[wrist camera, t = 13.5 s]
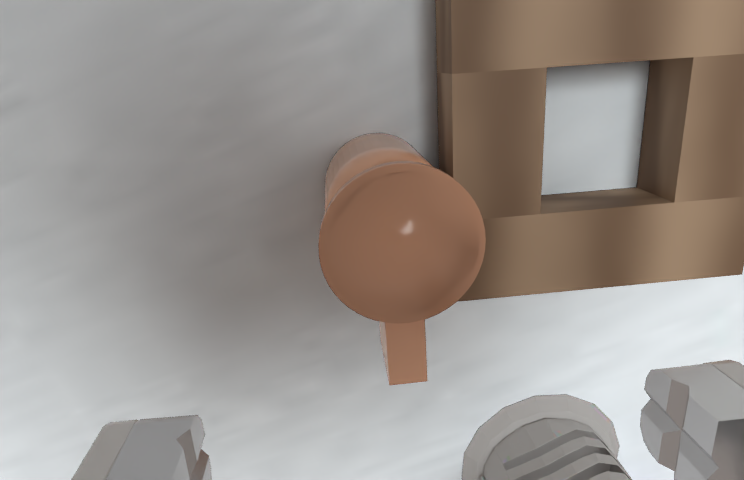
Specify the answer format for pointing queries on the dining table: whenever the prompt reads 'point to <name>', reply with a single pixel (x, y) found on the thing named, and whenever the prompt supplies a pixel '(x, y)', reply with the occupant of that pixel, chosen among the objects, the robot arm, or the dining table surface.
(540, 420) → the french press
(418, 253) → the copper mug
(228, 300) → the dining table surface
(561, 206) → the holder
